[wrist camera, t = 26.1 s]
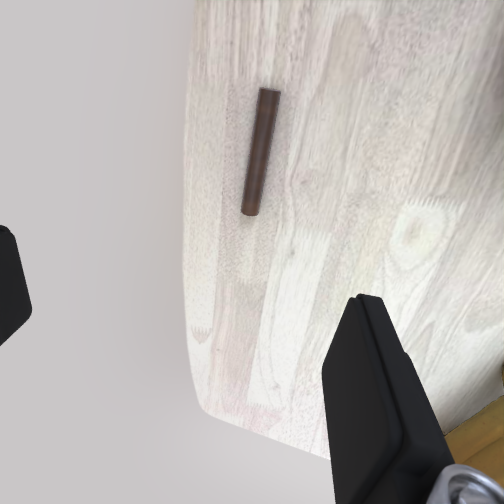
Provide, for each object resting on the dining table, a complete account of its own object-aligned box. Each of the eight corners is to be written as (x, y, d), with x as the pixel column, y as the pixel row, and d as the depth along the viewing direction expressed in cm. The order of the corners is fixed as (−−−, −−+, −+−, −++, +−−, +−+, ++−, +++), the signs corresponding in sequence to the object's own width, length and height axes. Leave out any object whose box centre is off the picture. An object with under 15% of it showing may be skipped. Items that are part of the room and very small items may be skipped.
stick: (255, 86, 24) (268, 89, 23) (272, 88, 25) (285, 91, 23) (237, 209, 29) (247, 217, 28) (251, 208, 29) (261, 215, 28)
